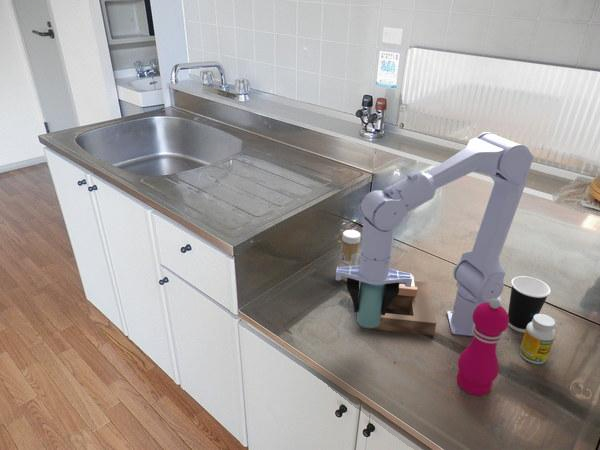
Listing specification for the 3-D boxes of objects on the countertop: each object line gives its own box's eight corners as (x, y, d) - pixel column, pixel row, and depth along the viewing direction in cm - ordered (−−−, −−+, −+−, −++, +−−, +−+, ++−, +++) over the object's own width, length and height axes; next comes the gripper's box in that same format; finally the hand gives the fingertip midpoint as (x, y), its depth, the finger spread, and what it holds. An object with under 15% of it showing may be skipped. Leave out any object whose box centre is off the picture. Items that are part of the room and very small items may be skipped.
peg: (380, 314, 95) (384, 278, 91) (380, 329, 90) (385, 292, 86) (357, 311, 95) (360, 276, 91) (356, 326, 91) (359, 289, 87)
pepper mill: (472, 402, 84) (495, 316, 75) (446, 375, 90) (465, 292, 81) (501, 391, 86) (527, 306, 77) (474, 365, 92) (495, 284, 83)
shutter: (412, 278, 114) (414, 268, 113) (415, 299, 106) (417, 289, 105) (378, 274, 115) (379, 265, 114) (378, 295, 107) (380, 285, 106)
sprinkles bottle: (335, 276, 121) (338, 232, 114) (348, 271, 123) (352, 227, 117) (347, 284, 117) (351, 239, 111) (360, 278, 120) (364, 234, 114)
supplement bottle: (531, 344, 98) (542, 308, 94) (552, 360, 94) (565, 324, 90) (513, 351, 96) (524, 315, 92) (534, 368, 92) (546, 331, 88)
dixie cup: (500, 311, 109) (510, 272, 104) (536, 319, 106) (549, 280, 101) (500, 331, 102) (512, 291, 97) (539, 340, 99) (552, 299, 94)
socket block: (426, 293, 114) (428, 282, 113) (433, 335, 100) (436, 323, 99) (362, 287, 116) (363, 276, 115) (361, 327, 102) (362, 315, 100)
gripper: (413, 246, 88) (404, 302, 94) (339, 239, 90) (335, 295, 96) (416, 264, 82) (406, 324, 88) (336, 257, 84) (332, 316, 90)
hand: (369, 310), depth 92 cm, fingers closed on peg, 5 cm apart
